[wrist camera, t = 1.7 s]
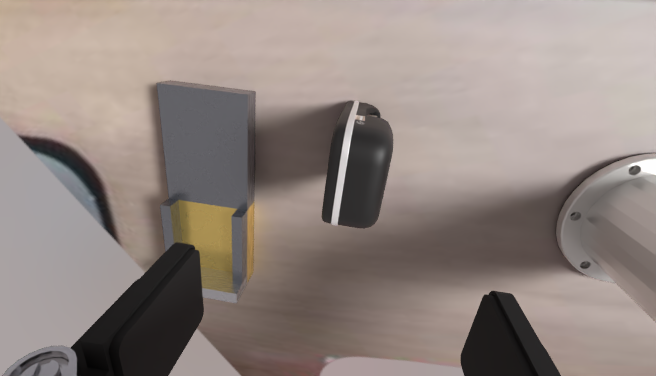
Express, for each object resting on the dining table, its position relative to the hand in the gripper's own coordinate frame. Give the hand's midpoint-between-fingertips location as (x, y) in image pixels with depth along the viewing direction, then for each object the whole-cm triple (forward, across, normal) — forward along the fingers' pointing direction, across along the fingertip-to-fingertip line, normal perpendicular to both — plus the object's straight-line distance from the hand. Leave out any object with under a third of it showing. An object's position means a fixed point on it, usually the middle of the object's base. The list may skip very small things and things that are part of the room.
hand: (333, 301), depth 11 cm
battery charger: (+21, -1, 0) cm, 21 cm away
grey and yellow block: (+21, +13, +7) cm, 26 cm away
